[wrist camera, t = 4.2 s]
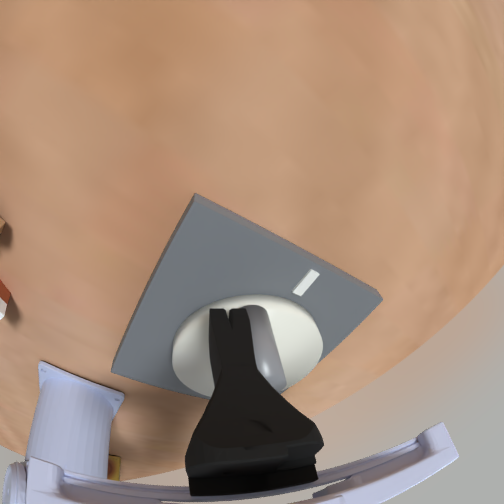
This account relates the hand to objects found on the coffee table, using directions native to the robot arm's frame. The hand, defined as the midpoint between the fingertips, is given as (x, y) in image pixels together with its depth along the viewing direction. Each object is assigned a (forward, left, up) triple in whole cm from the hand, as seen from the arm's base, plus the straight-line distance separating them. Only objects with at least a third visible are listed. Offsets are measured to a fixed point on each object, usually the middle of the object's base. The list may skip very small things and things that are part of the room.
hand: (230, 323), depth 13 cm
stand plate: (-3, -3, -3) cm, 5 cm away
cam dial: (-3, -3, -2) cm, 5 cm away
